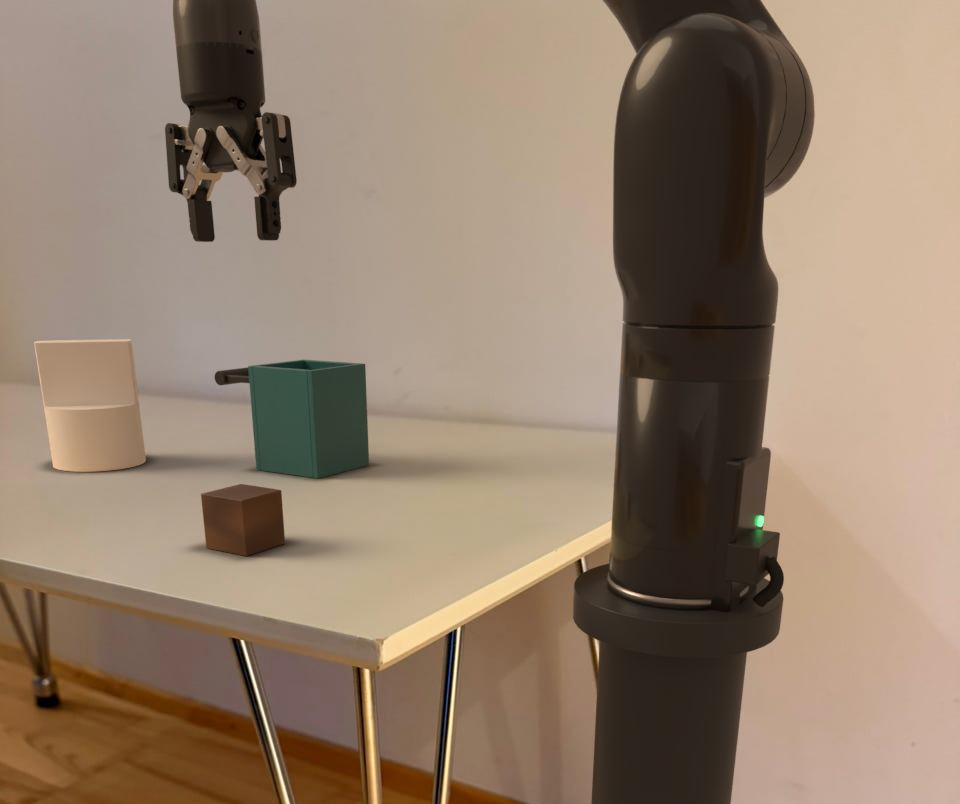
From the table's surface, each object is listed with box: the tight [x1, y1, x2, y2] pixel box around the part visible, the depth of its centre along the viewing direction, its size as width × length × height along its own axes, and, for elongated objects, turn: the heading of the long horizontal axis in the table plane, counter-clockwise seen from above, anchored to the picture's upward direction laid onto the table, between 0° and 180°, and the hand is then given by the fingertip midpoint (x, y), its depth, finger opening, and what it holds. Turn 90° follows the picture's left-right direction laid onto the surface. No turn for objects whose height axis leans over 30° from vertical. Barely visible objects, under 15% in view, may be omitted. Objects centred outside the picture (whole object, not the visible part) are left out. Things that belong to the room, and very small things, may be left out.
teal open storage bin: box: [214, 359, 370, 479], centre depth 98 cm, size 10×8×14 cm
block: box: [200, 483, 286, 557], centre depth 71 cm, size 4×4×4 cm
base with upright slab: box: [33, 338, 147, 473], centre depth 99 cm, size 9×9×12 cm
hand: (235, 241), depth 94 cm, fingers open, 8 cm apart
